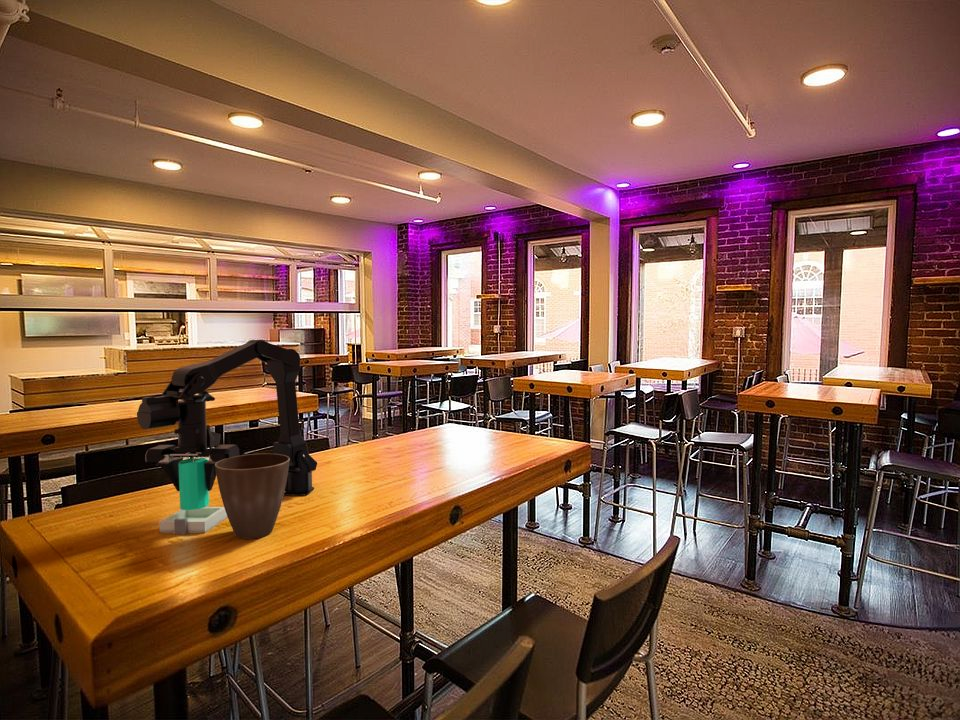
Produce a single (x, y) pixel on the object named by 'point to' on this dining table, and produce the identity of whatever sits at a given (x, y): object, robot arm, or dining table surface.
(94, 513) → the dining table surface
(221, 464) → the plant pot
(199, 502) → the candle
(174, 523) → the white square tray
